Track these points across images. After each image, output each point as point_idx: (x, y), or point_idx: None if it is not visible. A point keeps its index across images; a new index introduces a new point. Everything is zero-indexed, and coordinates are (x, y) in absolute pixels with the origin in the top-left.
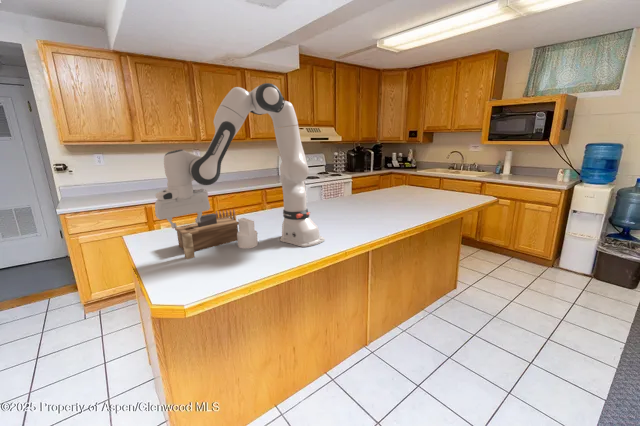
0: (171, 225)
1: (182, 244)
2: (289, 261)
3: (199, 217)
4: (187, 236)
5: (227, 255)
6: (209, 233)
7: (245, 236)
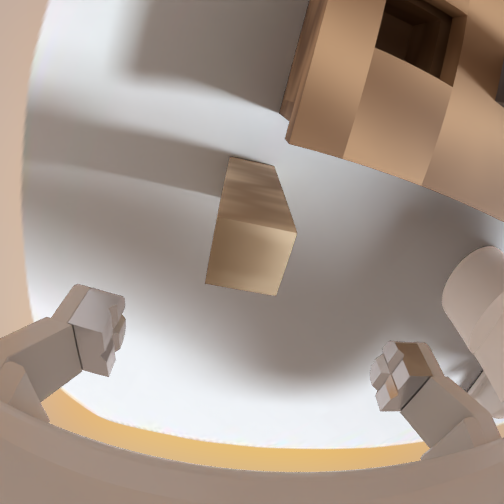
0: (64, 308)
1: (309, 19)
2: (373, 433)
3: (413, 422)
4: (234, 283)
5: (357, 312)
6: None
7: (467, 346)
